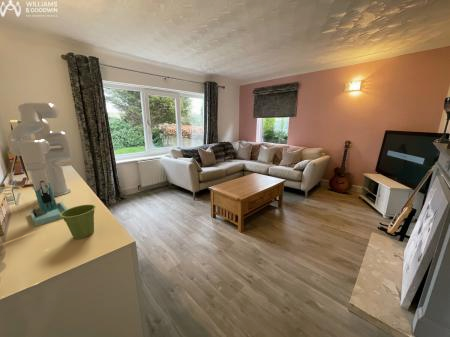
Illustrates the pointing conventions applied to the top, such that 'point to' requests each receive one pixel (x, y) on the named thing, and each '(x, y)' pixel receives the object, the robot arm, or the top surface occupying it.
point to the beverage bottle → (46, 206)
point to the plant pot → (80, 220)
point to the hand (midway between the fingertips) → (46, 200)
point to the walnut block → (38, 211)
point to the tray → (48, 215)
